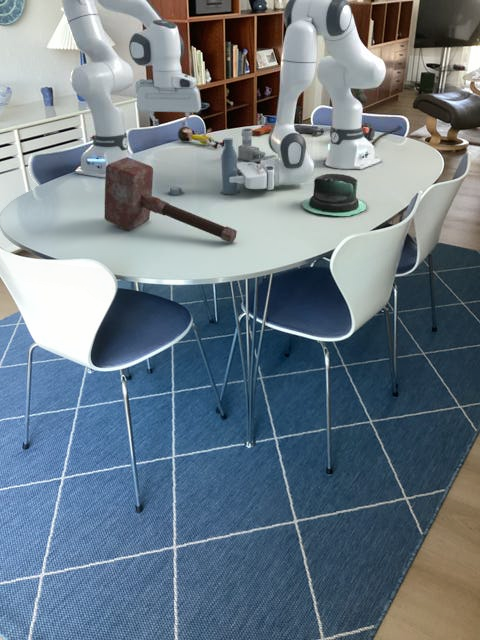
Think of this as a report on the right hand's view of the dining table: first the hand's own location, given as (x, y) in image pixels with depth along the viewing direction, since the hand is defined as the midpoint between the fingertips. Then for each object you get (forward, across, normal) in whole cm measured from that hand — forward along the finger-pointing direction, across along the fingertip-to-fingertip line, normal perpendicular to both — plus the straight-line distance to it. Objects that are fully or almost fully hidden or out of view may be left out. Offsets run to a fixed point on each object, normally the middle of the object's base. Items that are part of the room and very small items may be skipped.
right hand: (227, 176), depth 187 cm
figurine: (-1, -73, +6) cm, 73 cm away
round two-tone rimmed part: (-30, +23, +6) cm, 38 cm away
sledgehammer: (+22, +33, +6) cm, 40 cm away
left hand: (+18, -4, -17) cm, 24 cm away
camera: (-18, -38, +6) cm, 42 cm away
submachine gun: (-42, -79, +5) cm, 90 cm away
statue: (-77, -79, +5) cm, 110 cm away
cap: (+18, -4, +4) cm, 18 cm away
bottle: (-1, 0, +6) cm, 6 cm away
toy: (-68, -54, +5) cm, 87 cm away
